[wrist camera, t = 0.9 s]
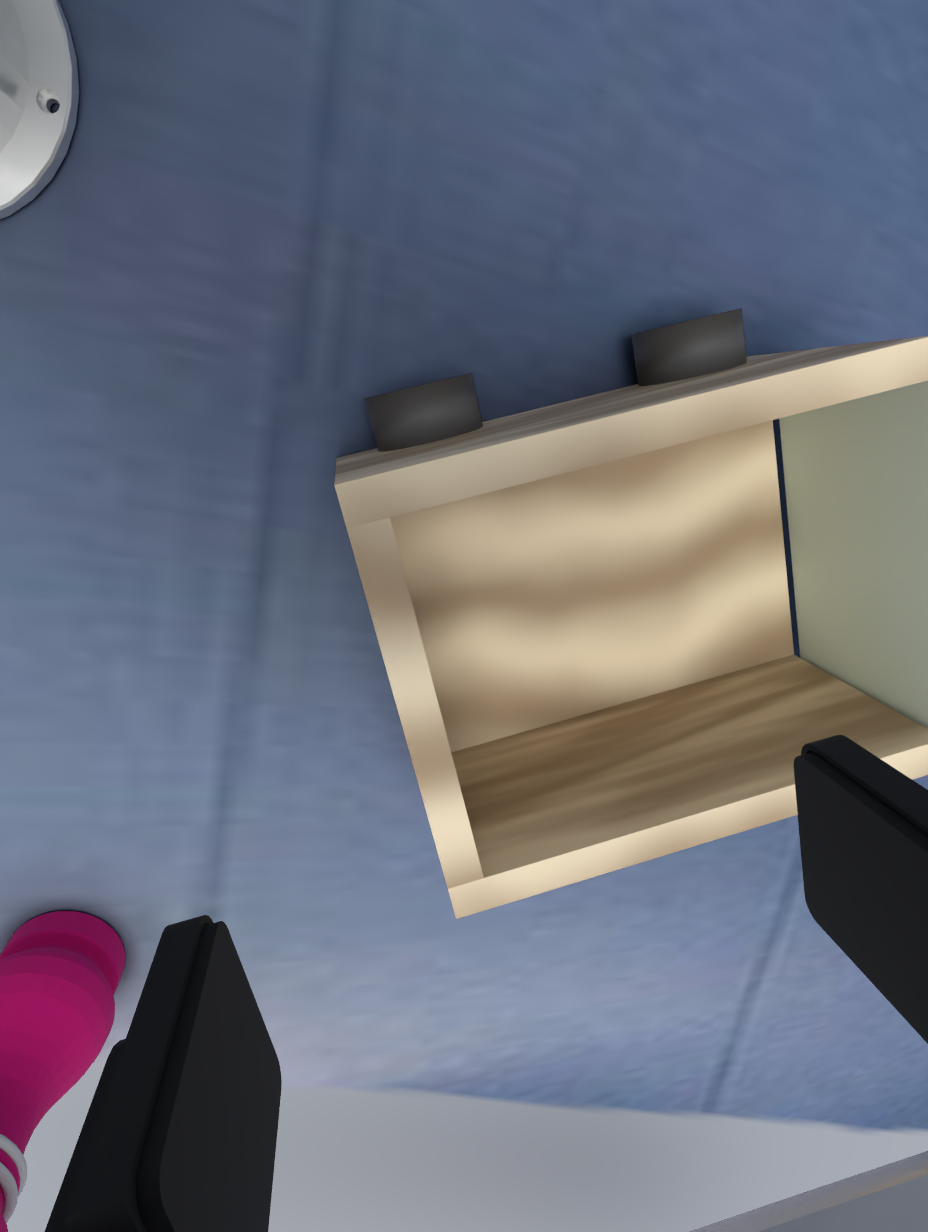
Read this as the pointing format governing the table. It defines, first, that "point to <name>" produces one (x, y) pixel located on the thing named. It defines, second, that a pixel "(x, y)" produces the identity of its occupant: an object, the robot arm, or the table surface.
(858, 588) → the panel
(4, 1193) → the pepper mill
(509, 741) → the truck bed
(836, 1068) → the table surface
